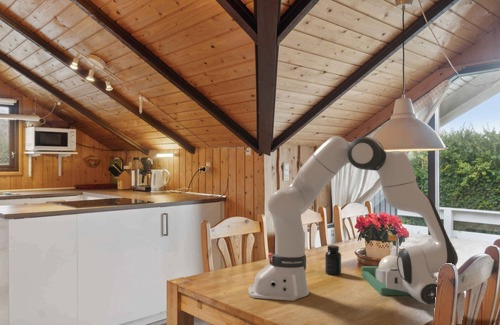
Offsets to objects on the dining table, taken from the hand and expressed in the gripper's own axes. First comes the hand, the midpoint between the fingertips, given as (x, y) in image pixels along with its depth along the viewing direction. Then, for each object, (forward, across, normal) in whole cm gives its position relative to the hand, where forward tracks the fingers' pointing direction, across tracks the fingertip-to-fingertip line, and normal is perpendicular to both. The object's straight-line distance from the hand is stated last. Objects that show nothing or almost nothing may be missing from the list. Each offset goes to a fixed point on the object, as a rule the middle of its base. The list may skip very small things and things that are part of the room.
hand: (396, 269), depth 157 cm
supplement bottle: (+22, +20, +8) cm, 30 cm away
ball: (+9, -2, +2) cm, 9 cm away
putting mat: (+6, 0, +8) cm, 9 cm away
